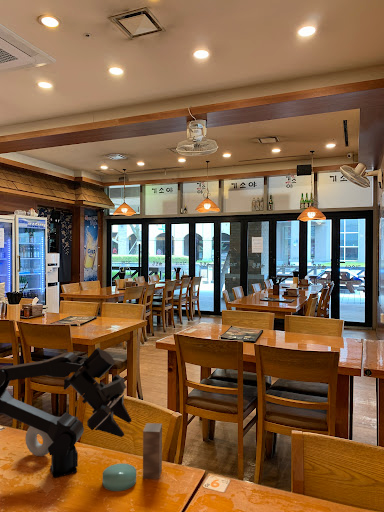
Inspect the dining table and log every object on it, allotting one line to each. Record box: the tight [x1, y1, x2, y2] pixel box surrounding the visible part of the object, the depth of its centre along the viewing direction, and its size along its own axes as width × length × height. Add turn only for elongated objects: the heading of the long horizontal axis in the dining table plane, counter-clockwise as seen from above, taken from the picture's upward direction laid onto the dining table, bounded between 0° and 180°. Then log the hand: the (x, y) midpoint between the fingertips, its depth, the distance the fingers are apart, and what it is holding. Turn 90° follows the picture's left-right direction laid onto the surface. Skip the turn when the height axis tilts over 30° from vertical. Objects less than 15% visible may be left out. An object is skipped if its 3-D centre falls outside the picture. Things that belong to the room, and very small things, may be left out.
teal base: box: [102, 463, 137, 492], centre depth 106 cm, size 9×9×2 cm
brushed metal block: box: [142, 422, 163, 480], centre depth 110 cm, size 5×5×13 cm
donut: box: [24, 426, 53, 457], centre depth 119 cm, size 10×4×10 cm, turn 71°
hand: (127, 428), depth 110 cm, fingers open, 9 cm apart
